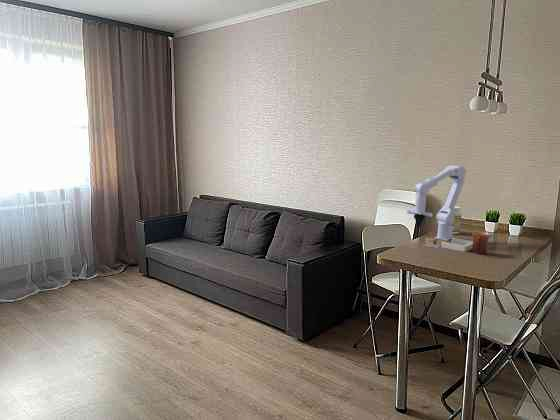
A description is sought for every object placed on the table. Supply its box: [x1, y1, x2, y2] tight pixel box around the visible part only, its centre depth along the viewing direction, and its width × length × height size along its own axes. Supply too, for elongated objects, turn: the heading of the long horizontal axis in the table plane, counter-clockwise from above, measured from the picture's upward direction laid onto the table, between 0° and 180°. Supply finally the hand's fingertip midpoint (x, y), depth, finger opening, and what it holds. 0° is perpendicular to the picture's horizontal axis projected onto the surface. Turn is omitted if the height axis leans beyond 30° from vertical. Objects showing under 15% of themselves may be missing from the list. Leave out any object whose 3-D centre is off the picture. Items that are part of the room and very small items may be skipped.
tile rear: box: [424, 237, 438, 244], centre depth 246 cm, size 5×5×2 cm
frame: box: [440, 237, 473, 253], centre depth 236 cm, size 16×13×3 cm
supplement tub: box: [442, 205, 462, 235], centre depth 275 cm, size 12×12×17 cm
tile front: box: [435, 239, 450, 245], centre depth 242 cm, size 5×5×2 cm
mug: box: [471, 231, 491, 255], centre depth 223 cm, size 12×9×10 cm
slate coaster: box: [422, 242, 441, 249], centre depth 238 cm, size 8×8×1 cm
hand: (418, 227), depth 250 cm, fingers closed
